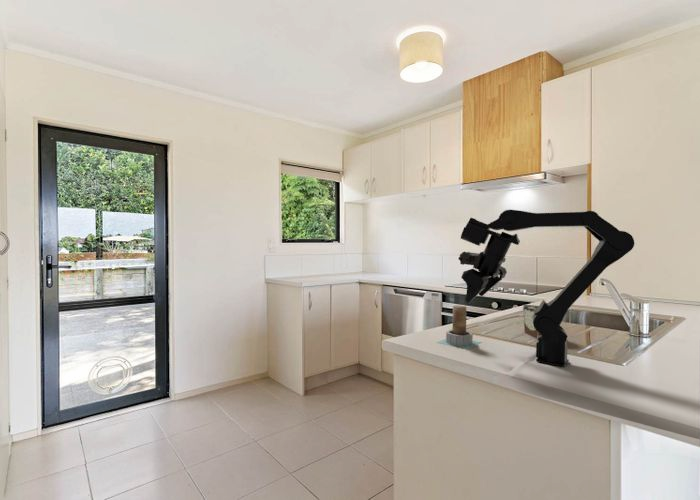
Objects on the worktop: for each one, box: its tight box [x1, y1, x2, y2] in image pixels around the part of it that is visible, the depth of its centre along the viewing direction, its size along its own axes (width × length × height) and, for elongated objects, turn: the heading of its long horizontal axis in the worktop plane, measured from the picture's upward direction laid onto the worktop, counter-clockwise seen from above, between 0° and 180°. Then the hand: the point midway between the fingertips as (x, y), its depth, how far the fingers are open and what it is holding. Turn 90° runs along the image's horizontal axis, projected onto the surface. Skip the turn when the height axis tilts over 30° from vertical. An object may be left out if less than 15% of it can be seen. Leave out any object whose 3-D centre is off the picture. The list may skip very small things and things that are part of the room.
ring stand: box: [436, 329, 482, 350], centre depth 110 cm, size 10×10×4 cm
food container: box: [522, 304, 542, 341], centre depth 123 cm, size 12×6×10 cm, turn 179°
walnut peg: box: [452, 305, 467, 335], centre depth 110 cm, size 4×4×11 cm
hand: (474, 298), depth 108 cm, fingers open, 9 cm apart
